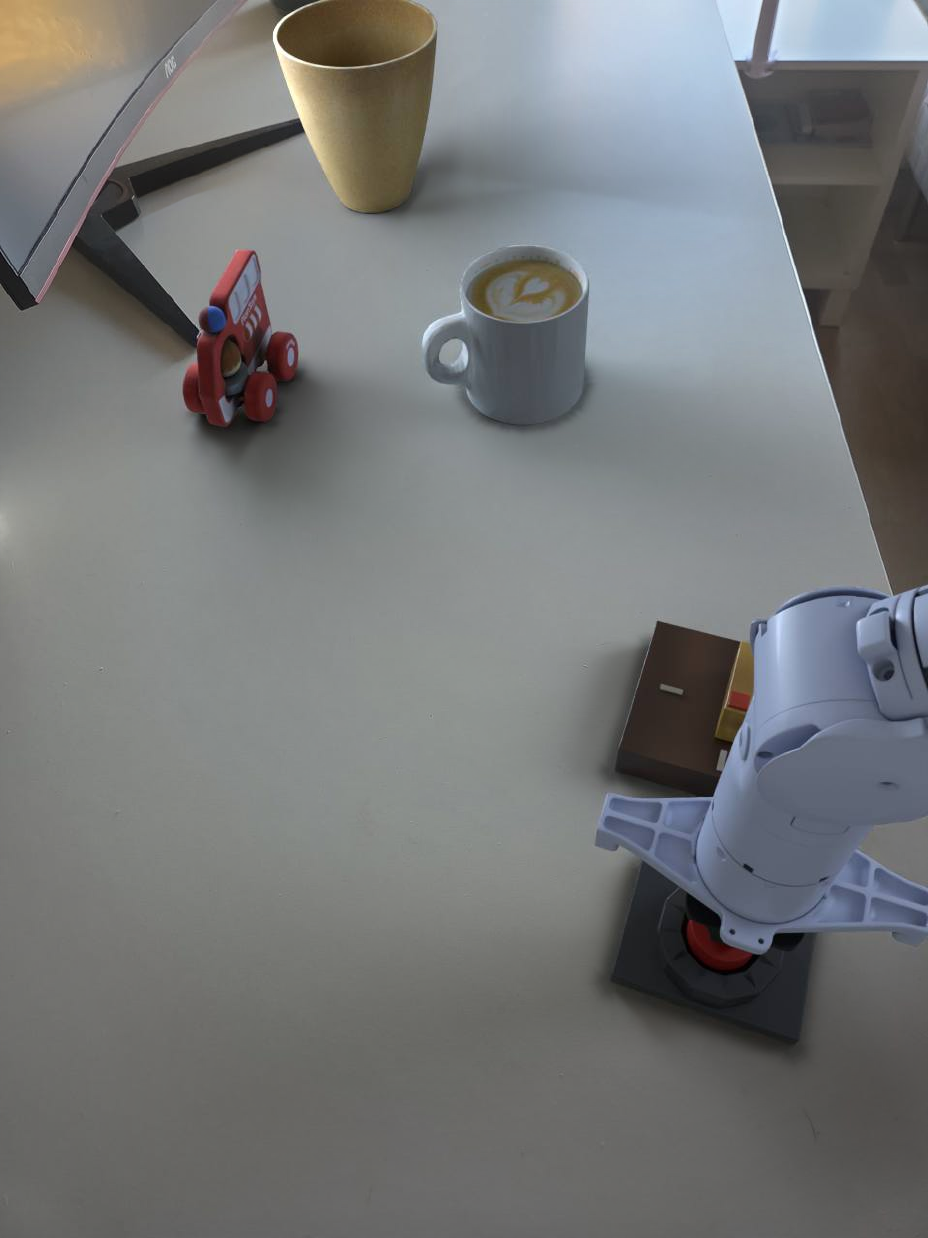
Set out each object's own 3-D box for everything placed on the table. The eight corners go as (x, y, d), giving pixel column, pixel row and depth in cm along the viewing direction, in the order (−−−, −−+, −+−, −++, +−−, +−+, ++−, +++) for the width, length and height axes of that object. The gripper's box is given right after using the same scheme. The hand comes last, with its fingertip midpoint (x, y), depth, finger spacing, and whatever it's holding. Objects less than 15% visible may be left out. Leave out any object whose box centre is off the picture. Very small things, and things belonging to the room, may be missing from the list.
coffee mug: (572, 340, 85) (577, 237, 76) (593, 417, 79) (600, 315, 71) (421, 357, 84) (410, 256, 76) (431, 436, 79) (420, 335, 70)
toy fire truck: (181, 436, 80) (141, 334, 72) (236, 341, 87) (205, 237, 78) (259, 447, 79) (227, 344, 70) (309, 350, 86) (285, 246, 77)
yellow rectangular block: (730, 671, 61) (741, 637, 57) (753, 677, 60) (765, 644, 57) (714, 737, 58) (724, 706, 55) (737, 744, 58) (749, 713, 55)
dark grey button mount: (813, 921, 54) (827, 903, 52) (794, 1046, 51) (808, 1033, 48) (639, 866, 57) (645, 846, 54) (609, 982, 53) (613, 966, 50)
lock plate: (832, 692, 63) (846, 666, 60) (810, 828, 57) (823, 806, 55) (651, 645, 66) (657, 618, 63) (614, 771, 60) (618, 747, 58)
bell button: (760, 916, 52) (767, 905, 51) (748, 980, 50) (754, 971, 49) (694, 894, 53) (698, 883, 51) (679, 957, 51) (684, 948, 50)
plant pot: (360, 253, 94) (334, 84, 81) (278, 192, 101) (242, 28, 88) (477, 194, 99) (470, 25, 86) (391, 140, 106) (373, -23, 93)
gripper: (583, 852, 39) (569, 953, 50) (967, 974, 35) (860, 1053, 46) (627, 707, 42) (605, 831, 53) (977, 805, 39) (877, 915, 50)
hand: (725, 925), depth 50 cm, fingers closed
